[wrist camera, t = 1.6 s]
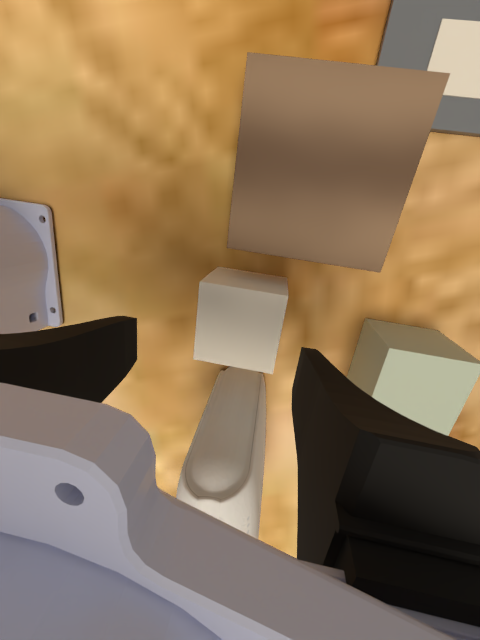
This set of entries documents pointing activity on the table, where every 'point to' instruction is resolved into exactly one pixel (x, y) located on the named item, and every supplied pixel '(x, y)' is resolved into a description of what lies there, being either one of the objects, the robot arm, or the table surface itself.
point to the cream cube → (240, 318)
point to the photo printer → (229, 452)
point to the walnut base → (328, 157)
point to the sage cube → (414, 372)
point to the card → (439, 54)
